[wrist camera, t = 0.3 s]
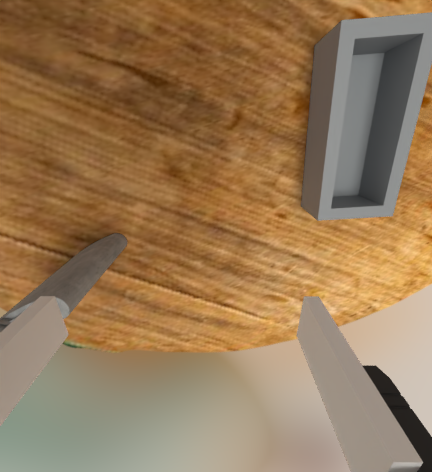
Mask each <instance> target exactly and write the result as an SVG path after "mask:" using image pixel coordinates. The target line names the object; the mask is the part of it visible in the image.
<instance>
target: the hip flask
mask: <svg viewBox="0 0 432 472" xmlns="http://www.w3.org/2000/svg"><path fill="white" fill-rule="evenodd" d="M126 246H127V240H126V238H125V237H124V236H123V235H122V234H119V233H115V234H112V235H109V236H107V237H104V238H102V239H100V240H98V241H96V242H95V243H93V244H91V245H90V246H88V247H86V248H85V249H83V250H82V251H81V252H79V253H78V254H77V255H75V256H74V257H73V258H72V259H71V260H69V261H68V262H67V263H66V264H65V265H63V266H62V267H61V268H60V269H59V270H57V271H56V272H55V273H54V274H53V275H51V276H50V277H49V278H48V279H47V280H45V281H44V282H43V283H42V284H41V285H39V286H38V287H37V288H36V289H35V290H33V291H32V292H31V293H30V294H29V295H27V296H26V297H25V298H24V299H23V300H21V301H20V302H19V303H18V304H17V305H15V306H14V307H13V308H12V309H11V310H9V311H8V312H7V313H6V314H5V315H3V317H1V318H0V332H1V331H3V330H4V329H5V328H6V327H7V326H8V325H9V324H10V323H11V322H13V321H14V320H15V319H16V318H17V317H18V316H19V315H20V314H21V313H22V312H24V311H25V310H26V309H27V308H28V307H29V306H30V305H31V304H32V303H34V302H35V301H36V300H37V299H38V298H39V297H40V296H55V298H56V301H57V303H58V306H59V309H60V312H61V315H62V318H63V319H64V318H66V317H67V316H68V315H69V314H70V313H71V312H72V310H73V309H74V308H75V307H76V306H77V304H78V303H79V302H80V301H81V300H82V298H83V297H84V296H85V295H86V294H87V292H88V291H89V290H90V289H91V288H92V286H93V285H94V284H95V283H96V282H97V280H98V279H99V278H100V277H101V276H102V274H103V273H104V272H105V271H106V270H107V269H108V267H109V266H110V265H111V264H112V263H113V261H114V260H115V259H116V258H117V257H118V255H119V254H120V253H121V252H122V251H123V249H124V248H125V247H126Z"/></svg>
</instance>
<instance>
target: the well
mask: <svg viewBox="0 0 432 472" xmlns="http://www.w3.org/2000/svg"><path fill="white" fill-rule="evenodd" d="M431 64H432V13H422V14H410V15H398V16H386V17H375V18H363V19H351V20H341V21H340V22H339V23H338V24H337V25H336V26H335V27H334V28H333V29H332V30H331V31H330V32H329V33H328V34H327V35H325V36H324V37H323V38H322V39H321V40H320V41H319V42H318V43H317V44H316V45H315V48H314V60H313V71H312V83H311V95H310V106H309V118H308V130H307V141H306V153H305V165H304V176H303V188H302V200H301V207H302V208H303V209H305V210H306V211H307V212H308V213H309V214H311V215H312V216H313V217H314V218H315V219H317V220H335V219H352V218H369V217H386V216H393V213H394V209H395V205H396V201H397V197H398V193H399V189H400V185H401V181H402V177H403V173H404V170H405V166H406V162H407V158H408V154H409V150H410V146H411V142H412V138H413V134H414V130H415V126H416V123H417V119H418V115H419V111H420V107H421V103H422V99H423V95H424V91H425V87H426V83H427V79H428V76H429V72H430V68H431Z"/></svg>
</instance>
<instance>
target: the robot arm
mask: <svg viewBox="0 0 432 472" xmlns="http://www.w3.org/2000/svg"><path fill="white" fill-rule="evenodd" d="M67 336H68V332H67V329H66V326H65V323H64V320H63V318H62V315H61V312H60V309H59V306H58V303H57V301H56V298H55V296H40V297H39V298H38V299H37V300H36V301H35V302H34V303H32V304H31V305H30V306H29V307H28V308H27V309H26V310H25V311H24V312H22V313H21V314H20V315H19V316H18V317H17V318H16V319H15V320H14V321H13V322H11V323H10V324H9V325H8V326H7V327H6V328H5V329H4V330H3V331H1V332H0V426H1V425H2V423H3V422H4V421H5V419H6V418H7V416H8V415H9V414H10V413H11V411H12V410H13V409H14V407H15V406H16V405H17V403H18V402H19V401H20V399H21V398H22V397H23V395H24V394H25V393H26V391H27V390H28V389H29V387H30V386H31V384H32V383H33V381H35V379H36V377H38V375H39V374H40V372H41V371H42V370H43V368H44V367H45V366H46V364H47V363H48V362H49V360H50V359H51V358H52V356H53V355H54V354H55V352H56V351H57V350H58V348H59V347H60V346H61V344H62V343H63V342H64V340H65V339H66V338H67ZM297 337H298V340H299V343H300V345H301V348H302V350H303V352H304V355H305V357H306V360H307V363H308V365H309V368H310V370H311V373H312V375H313V378H314V380H315V383H316V385H317V388H318V390H319V393H320V395H321V398H322V400H323V402H324V405H325V408H326V410H327V413H328V415H329V418H330V420H331V423H332V425H333V428H334V431H335V433H336V436H337V438H338V441H339V443H340V446H341V448H342V450H343V453H344V456H345V458H346V461H347V463H348V465H349V468H350V471H351V472H432V437H431V435H430V434H429V433H428V431H427V430H426V428H425V427H424V426H423V424H422V423H421V421H420V420H419V419H418V417H417V416H416V414H415V413H414V412H413V410H412V409H410V407H409V404H408V403H407V402H406V400H405V399H404V397H403V396H401V395H400V392H399V390H398V389H397V388H396V386H395V385H394V384H393V382H392V381H391V379H390V378H389V377H388V376H387V375H386V374H384V373H383V372H382V371H381V370H380V369H379V368H378V367H377V366H362V365H361V363H360V361H359V360H358V358H357V357H356V355H355V354H354V352H353V350H352V349H351V347H350V346H349V344H348V343H347V341H346V339H345V338H344V336H343V334H342V333H341V331H340V330H339V328H338V326H337V325H336V323H335V322H334V320H333V318H332V317H331V315H330V314H329V312H328V311H327V309H326V307H325V306H324V304H323V303H322V301H321V299H320V298H319V297H304V300H303V305H302V310H301V315H300V321H299V326H298V331H297Z"/></svg>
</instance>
